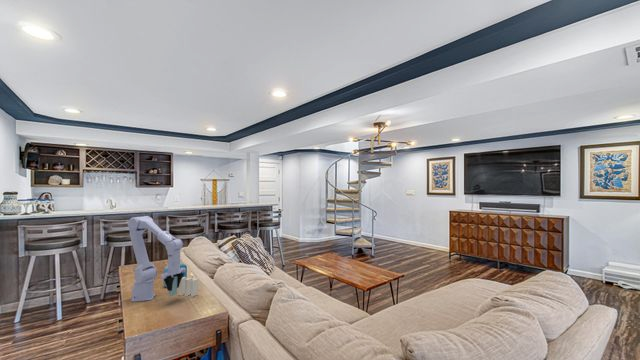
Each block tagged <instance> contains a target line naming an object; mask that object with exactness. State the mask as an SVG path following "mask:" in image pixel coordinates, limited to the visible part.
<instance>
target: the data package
mask: <svg viewBox="0 0 640 360" xmlns="http://www.w3.org/2000/svg"><path fill="white" fill-rule="evenodd" d="M180 268H186V271H185V272H182V273H184V276H183V277H187V276H188V266H187V265H186V264H185V263H180ZM166 272H168V265H166V266H165V267H163V274H164V273H166ZM171 277H173V276H171ZM183 277H182V278H183ZM186 279H188V277H187V278H186ZM163 286H164V287H165V288H166V289H167V286H166V283H165V281H164V280H163Z"/></svg>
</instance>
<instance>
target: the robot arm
mask: <svg viewBox="0 0 640 360" xmlns="http://www.w3.org/2000/svg"><path fill="white" fill-rule="evenodd" d="M127 227H128V231H129V238H130V241H131V243H132V249H133V253H134V256H135V260H136V263H137V266H136V267H135V268H134V272H133V273H134V277H133V279H134V280H135V282H133V285H132V289H131V302H133V303H134V302H143V301H144V302H145V301H152V300H154V298H155V296H156V294H155V293H154V287H155V286H154V284H155V283H154V281H155V278H156V277H157V276H158V269H157V267H156V266H155V264H154V263H153V262H151V261H150V259H149V256H148V252H147V247H146V244H145V240H144V237H143V234H144V232H145V231H146V230H149V231H150V232H151V233H152V234H154V235H155V236H156V238H157V240H158V241H159V242H161V244H163V245H164V246H165V250H166V252H167V253H166V254H167V256H168V257H167V266H168V272H166V273H164V272H163V273H162V274H160V279H161V280H163V282H164V281H165V283H166V286H167V288H166V289H167V291H168V292H169V291H172V285H173V280H174V278H173V277H175V276H178V277H177V289H179V284H180V281H181V279H182V277H183V276H184V273H182V272H185V271H186V268H180V264H181V250H182V249H183V247H184V242H183V240H182V239H181V238H176V237H175V236H173V235H172V234H171V233H170V231H169V230H163V229H161V228H160V227H159V225H157V224H156V222H154V219H153V218H152V217H150V216H149V215H144V216H133V217H132V216H131V218H130V219H129V220H128V222H127ZM171 276H173V277H171Z"/></svg>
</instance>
